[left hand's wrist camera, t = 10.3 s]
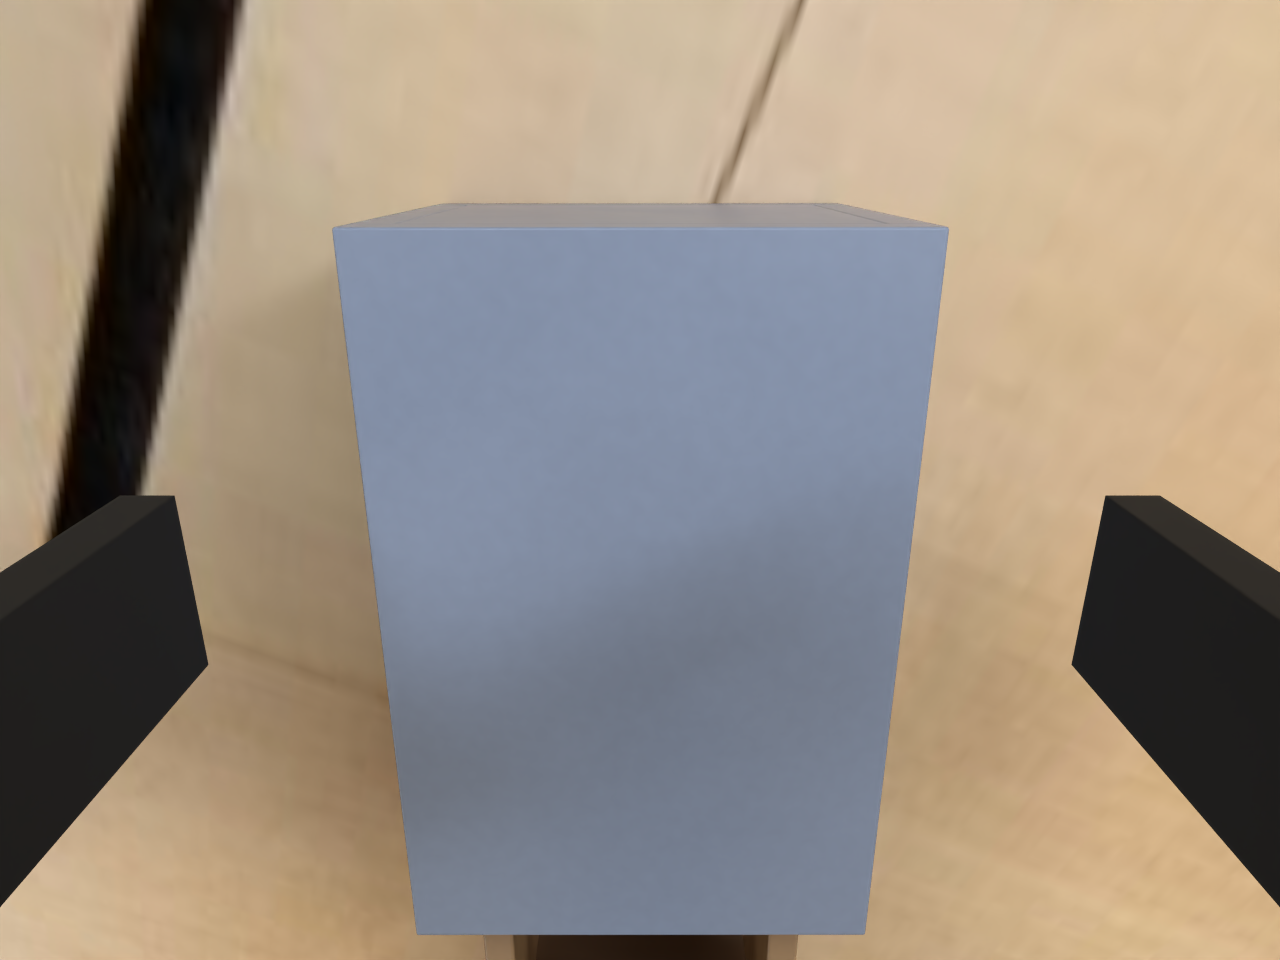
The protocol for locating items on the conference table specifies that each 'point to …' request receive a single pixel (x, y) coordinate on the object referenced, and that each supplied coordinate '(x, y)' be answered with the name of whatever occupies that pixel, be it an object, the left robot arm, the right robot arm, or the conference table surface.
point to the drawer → (640, 947)
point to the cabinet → (640, 551)
